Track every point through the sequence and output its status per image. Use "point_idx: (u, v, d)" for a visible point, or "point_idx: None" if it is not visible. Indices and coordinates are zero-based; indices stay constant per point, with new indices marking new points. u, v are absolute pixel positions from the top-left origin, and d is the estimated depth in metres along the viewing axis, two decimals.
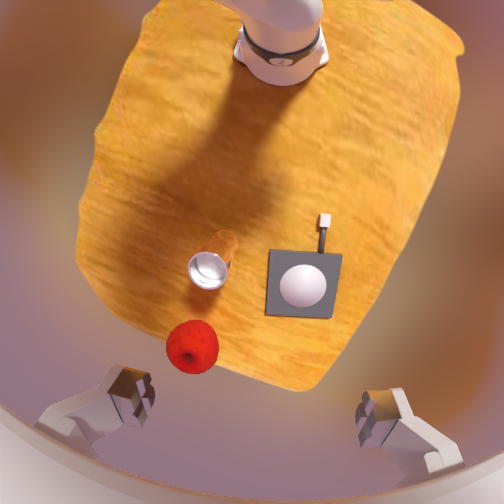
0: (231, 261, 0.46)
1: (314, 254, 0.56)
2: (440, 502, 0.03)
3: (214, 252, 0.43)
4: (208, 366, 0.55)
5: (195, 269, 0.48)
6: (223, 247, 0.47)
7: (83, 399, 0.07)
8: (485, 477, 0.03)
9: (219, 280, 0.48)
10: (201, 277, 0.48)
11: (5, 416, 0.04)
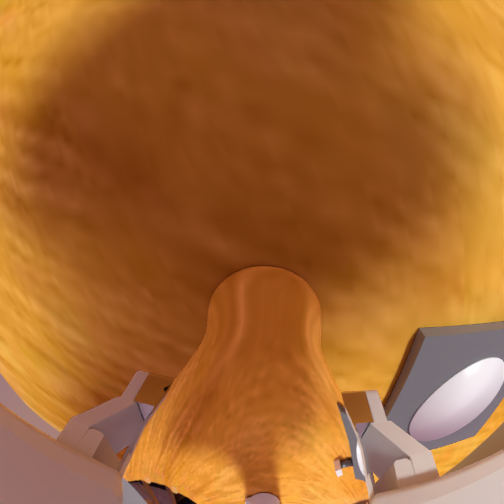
0: None
1: None
2: (440, 502, 0.03)
3: None
4: None
5: None
6: (347, 494, 0.03)
7: (108, 409, 0.07)
8: (485, 477, 0.03)
9: None
10: None
11: (5, 416, 0.04)
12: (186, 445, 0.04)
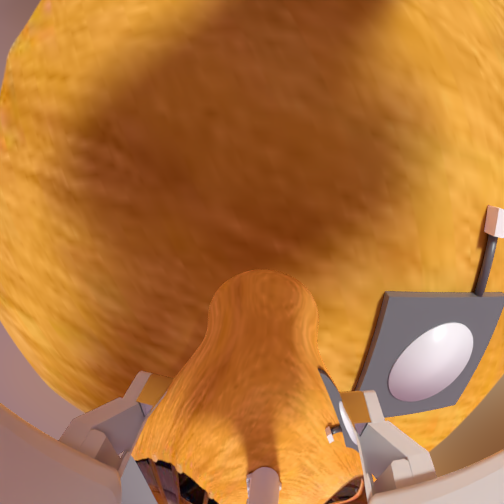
0: None
1: (470, 299, 0.19)
2: (440, 502, 0.03)
3: None
4: None
5: None
6: (344, 477, 0.04)
7: (111, 409, 0.07)
8: (485, 477, 0.03)
9: None
10: None
11: (5, 416, 0.04)
12: (190, 429, 0.05)
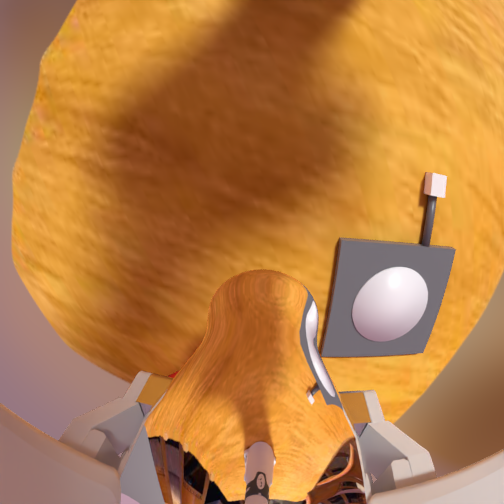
0: None
1: (416, 247, 0.27)
2: (440, 502, 0.03)
3: None
4: None
5: None
6: (342, 478, 0.04)
7: (111, 409, 0.07)
8: (485, 477, 0.03)
9: None
10: None
11: (5, 416, 0.04)
12: (189, 430, 0.05)
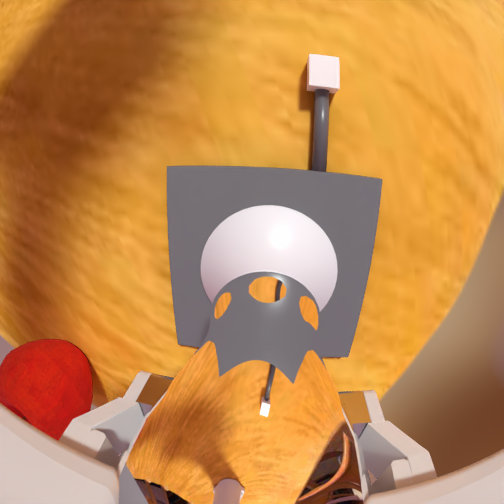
0: None
1: (298, 172, 0.18)
2: (440, 502, 0.03)
3: None
4: None
5: None
6: (340, 479, 0.04)
7: (111, 409, 0.07)
8: (485, 477, 0.03)
9: None
10: None
11: (5, 416, 0.04)
12: (188, 429, 0.05)
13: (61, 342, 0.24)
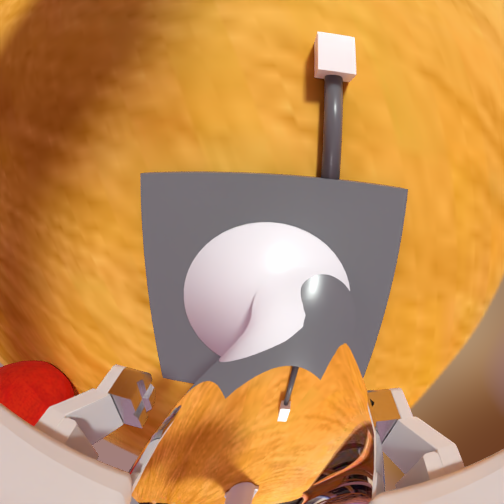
0: None
1: (304, 180, 0.14)
2: (440, 502, 0.03)
3: None
4: None
5: None
6: (353, 465, 0.04)
7: (84, 399, 0.07)
8: (485, 477, 0.03)
9: None
10: None
11: (5, 416, 0.04)
12: (220, 408, 0.05)
13: (41, 365, 0.20)
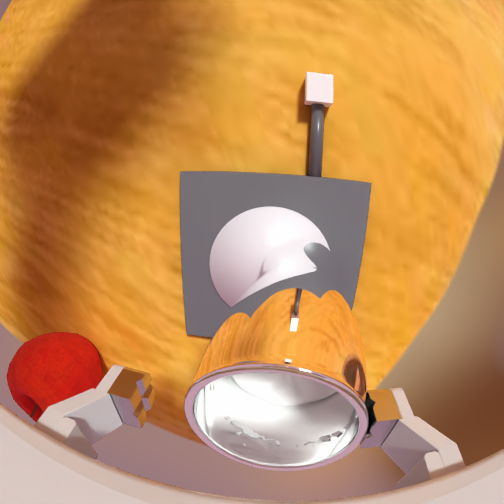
0: None
1: (296, 177, 0.20)
2: (440, 502, 0.03)
3: (319, 364, 0.07)
4: None
5: (219, 383, 0.12)
6: (339, 311, 0.10)
7: (83, 399, 0.07)
8: (485, 477, 0.03)
9: (304, 415, 0.12)
10: (241, 405, 0.12)
11: (5, 416, 0.04)
12: (267, 288, 0.12)
13: (73, 335, 0.27)
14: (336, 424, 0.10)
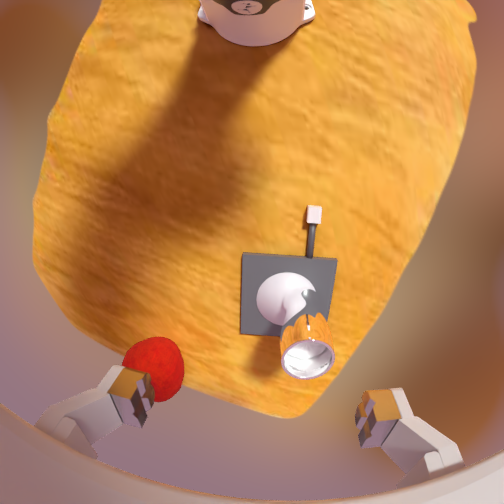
0: None
1: (300, 259, 0.43)
2: (440, 502, 0.03)
3: (320, 338, 0.31)
4: (169, 395, 0.42)
5: None
6: (323, 323, 0.34)
7: (83, 399, 0.07)
8: (485, 477, 0.03)
9: (312, 361, 0.35)
10: (289, 359, 0.35)
11: (5, 416, 0.04)
12: (299, 317, 0.35)
13: (164, 338, 0.50)
14: (325, 361, 0.33)
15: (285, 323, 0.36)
